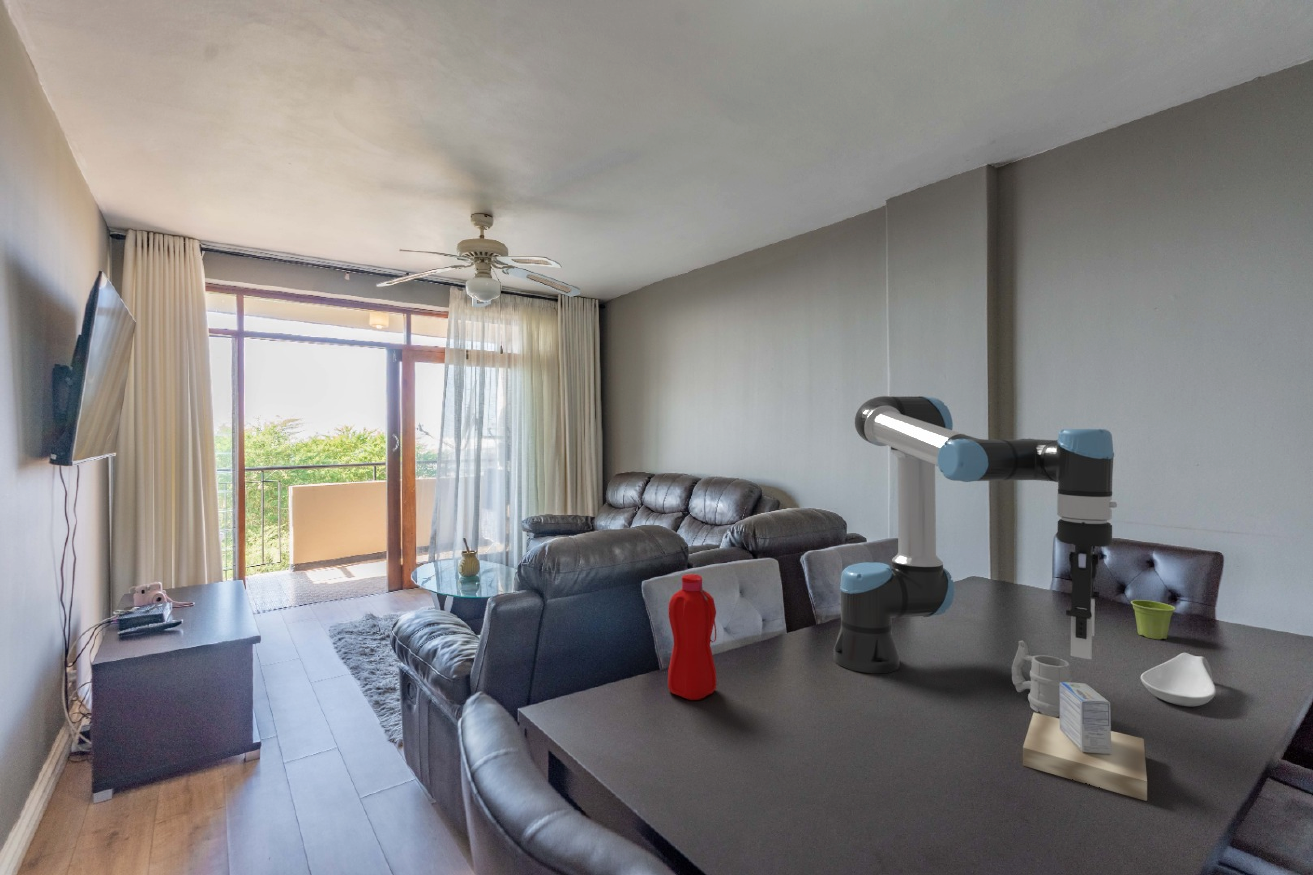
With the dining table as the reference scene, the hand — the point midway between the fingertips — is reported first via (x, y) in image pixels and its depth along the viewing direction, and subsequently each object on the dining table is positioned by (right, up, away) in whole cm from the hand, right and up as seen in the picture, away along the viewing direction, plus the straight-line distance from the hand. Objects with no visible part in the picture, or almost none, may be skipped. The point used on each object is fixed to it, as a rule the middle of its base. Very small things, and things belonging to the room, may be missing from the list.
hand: (1082, 645), depth 101 cm
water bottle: (-64, -20, +27) cm, 72 cm away
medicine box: (0, -17, 0) cm, 17 cm away
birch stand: (0, -19, 0) cm, 19 cm away
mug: (+6, -20, +21) cm, 29 cm away
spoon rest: (+41, -20, +27) cm, 53 cm away
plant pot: (+64, -20, +63) cm, 92 cm away
